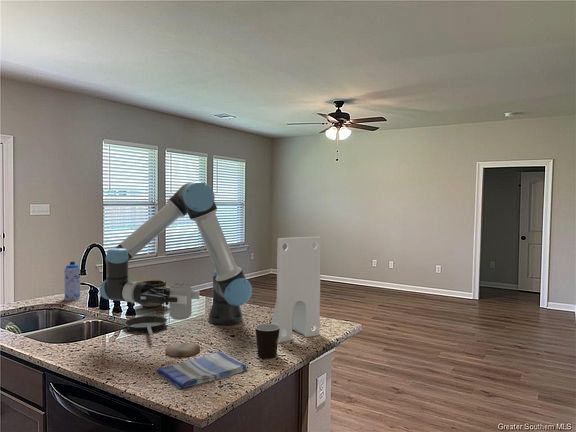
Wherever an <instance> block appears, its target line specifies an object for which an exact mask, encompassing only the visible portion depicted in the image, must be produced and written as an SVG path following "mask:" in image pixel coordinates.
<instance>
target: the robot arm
mask: <svg viewBox="0 0 576 432" xmlns="http://www.w3.org/2000/svg"><path fill="white" fill-rule="evenodd" d="M217 210H218V207H217V204H216V201H215V192H214V190H213V188H212V187H211V186H210V185H209V184H208V183H205V182H204V181H200V180H199V181H195V180H194V181H192V182H187V183H185V184H183V185H181V187H180V188H179V189H178V190H177V191H176V192H175V193H174V194H173V195H171V197H169V198H168V199H167V203H166V204H165V205H164V206H163V207H161V208H160V209H159V210H158V211H157V212H155V213H154V214H153V215H152V216H151V217H150V218H148V219H147V220H146V221H145V222H143V224H141V225H140V226H139V227H138V228H136V229H135V230H134V231H133V232H132V233H131V234H130V235H128V236H127V237H126V238H125V239H123V240H122V241H121V242H120V243H119V244H118V245H117V246H115V247H114V248H109V249H107V250H106V255H105V260H104V261H105V265H106V279H104V281H102V282H101V284H100V287H99V294H100V297H102V298H103V299H105V300H109V301H114V302H115V301H116V302H117V301H118V302H125V303H126V302H128V303H129V302H130V303H131V304H134V303H138V304H139V303H144V304H146V303H148V302H152V303H159V304H162V305H163V304H165V306H170V303H176V304H185V305H186V304H187V296H180V295H170V288H171V287H169V288H167V287H162V288H153V286H152V285H151V284H150V283H144V282H141V281H134V280H133V281H131V280H129V261H130V260H132V259H133V258H134V257H135V256H136V255H137V254H139V252H141V251H142V250H143V249H144V248H145V247H147V246H148V245H149V244H150V243H151V242H152V241H153V240H154V239H155V238H157V237H158V236H159V235H161V233H162V232H164V231H165V230H166V229H168V228H169V227H170V226H171V225H172V224H173V223H174V222H176V221H177V220H178V219H179V218H184V217H185V216H186V215H188V217H189V220H191V221H193V222H195V224H196V226H197V229H198V232H199V234H200V236H201V239H202V240H203V243H204V246H205V248H206V251H207V253H208V255H209V257H210V259H211V260H210V261H211V262H212V265H213V267H214V269H215V270H214V271H213V273H212V304H211V307H210V311H209V313H208V322H209V323H210V324H214V325H222V326H223V325H234V324H238V323H240V322H242V321H243V312H242V308H241V307H240V306H242V305H245V304H246V303H248V302H249V300H250V299H251V296H252V295H253V287H252V284H251V282H250V281H249V280H247V278H246V276H245V273H244V272H243V271H244V270H243V268H242V267H241V266H237V263H236V262H235V259H234V256H233V254H232V251H231V248H230V247H229V243H228V241H227V239H226V237H225V234H224V231H223V229H222V227H221V225H220V222H219V219H218V217H217V215H216V214H217V213H216V212H217ZM200 296H201V295H200V290H198V291H197V290H192V300H200Z"/></svg>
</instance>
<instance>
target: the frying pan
mask: <svg viewBox="0 0 576 432" xmlns="http://www.w3.org/2000/svg"><path fill="white" fill-rule="evenodd" d="M167 321H168V318H166V317H165V316H160V315H143V316H133V317H131V318H128V319H126V320H125V321H124V322H123V324H124V326H125V327H126V328H127V329H128V330H129V331H131V332H136V333H148V334H149V336H152V335H153V336H154V334H153V333H154V332H153V331H158V330H160V329H163V327H164V326H165V325H166V323H167Z"/></svg>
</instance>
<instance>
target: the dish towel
mask: <svg viewBox="0 0 576 432" xmlns="http://www.w3.org/2000/svg"><path fill="white" fill-rule="evenodd" d="M246 371H248V364H247V363H243V361H240V360H239V359H236V358H235V357H234V356H231V355H228V354H227V353H226V352H223V351H216V352H213V353H212V354H209V355H206V356H202V357H197V358H194V359H192V360H191V359H190V360H187V361H182V362H180V363H176V364H174V365H169V366H164V367H159V368H157V369H156V372H157V373H158V374H159V375H160V376H162V378H164V379H166V381H168V382H169V383H170V382H171V383H170V384H172V385H173V386H175V388H177V389H178V388H179V390H180V389H181V390H182V389H183V388H184V389H187V387H188V388H190V387H195V386H199V385H203V384H206V383H209V382H211V381H215V380H219V379H224V378H227V377H230V376H231V377H232V376H233V375H235V374H239V373H242V372H246ZM208 381H209V382H208ZM198 384H199V385H198Z"/></svg>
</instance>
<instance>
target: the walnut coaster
mask: <svg viewBox="0 0 576 432" xmlns="http://www.w3.org/2000/svg"><path fill="white" fill-rule="evenodd" d="M200 351H201V346H200V345H199V344H197V343H194V342H177V343H172V344H170V345H168V346H166V347H165V355H167V356H169V357H173V358H185V357H191V356H195V355H197V354H198V353H200Z"/></svg>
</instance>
